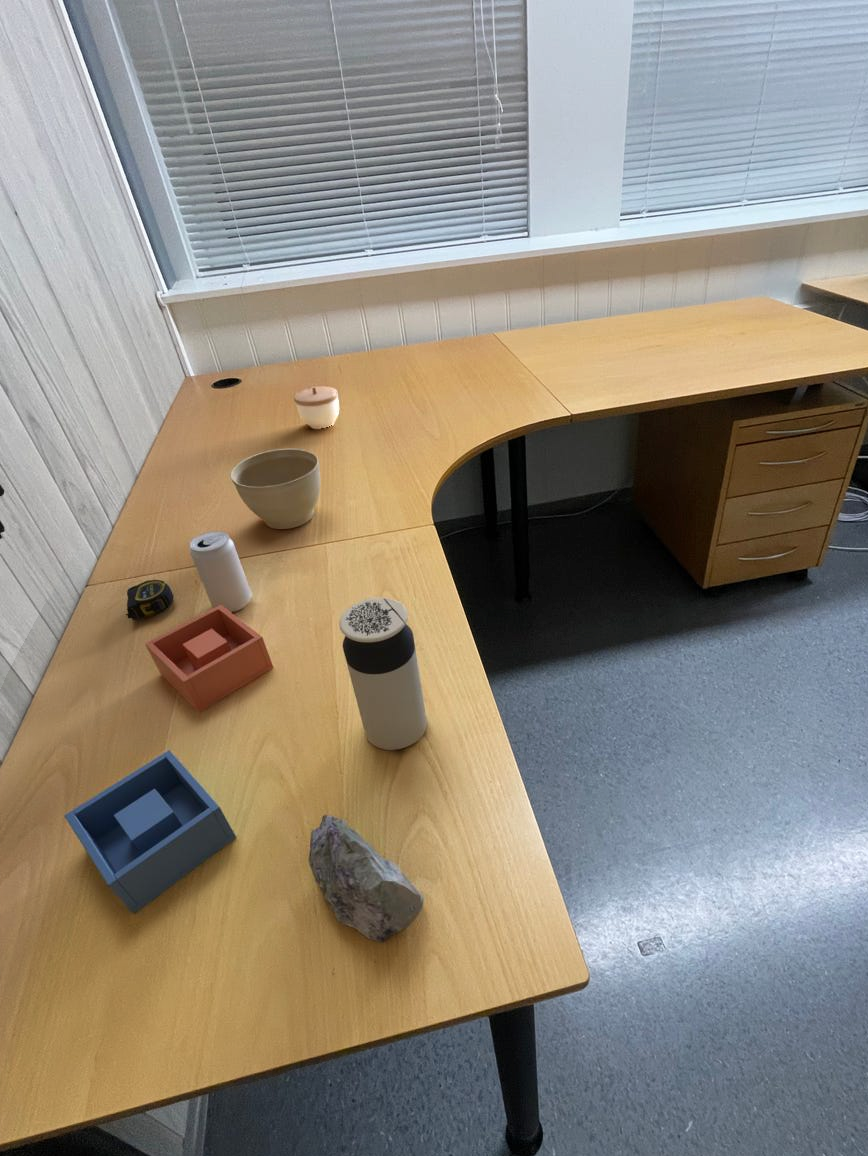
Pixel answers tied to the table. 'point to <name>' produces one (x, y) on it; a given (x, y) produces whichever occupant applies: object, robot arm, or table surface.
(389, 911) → the mineral rock
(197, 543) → the beverage can
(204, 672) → the terracotta bin
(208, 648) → the terracotta block
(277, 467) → the planter bowl
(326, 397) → the trinket box
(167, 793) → the blue bin
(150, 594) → the tape measure
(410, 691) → the travel mug
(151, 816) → the blue block
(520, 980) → the table surface
